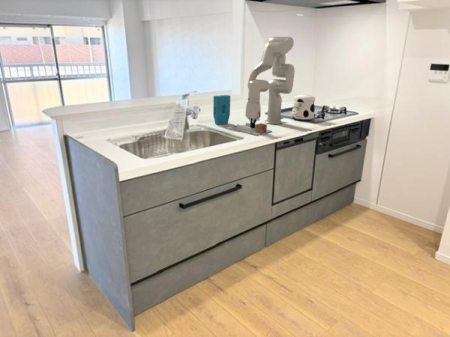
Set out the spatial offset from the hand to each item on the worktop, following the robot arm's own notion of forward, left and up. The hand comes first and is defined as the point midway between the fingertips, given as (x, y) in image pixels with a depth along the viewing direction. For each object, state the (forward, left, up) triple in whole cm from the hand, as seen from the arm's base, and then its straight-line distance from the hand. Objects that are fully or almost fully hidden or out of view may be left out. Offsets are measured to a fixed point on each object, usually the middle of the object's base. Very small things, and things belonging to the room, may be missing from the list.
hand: (252, 128), depth 224 cm
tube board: (0, -1, -2) cm, 2 cm away
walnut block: (+1, +8, -1) cm, 8 cm away
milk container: (-60, +1, -2) cm, 60 cm away
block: (+1, -28, -2) cm, 29 cm away
